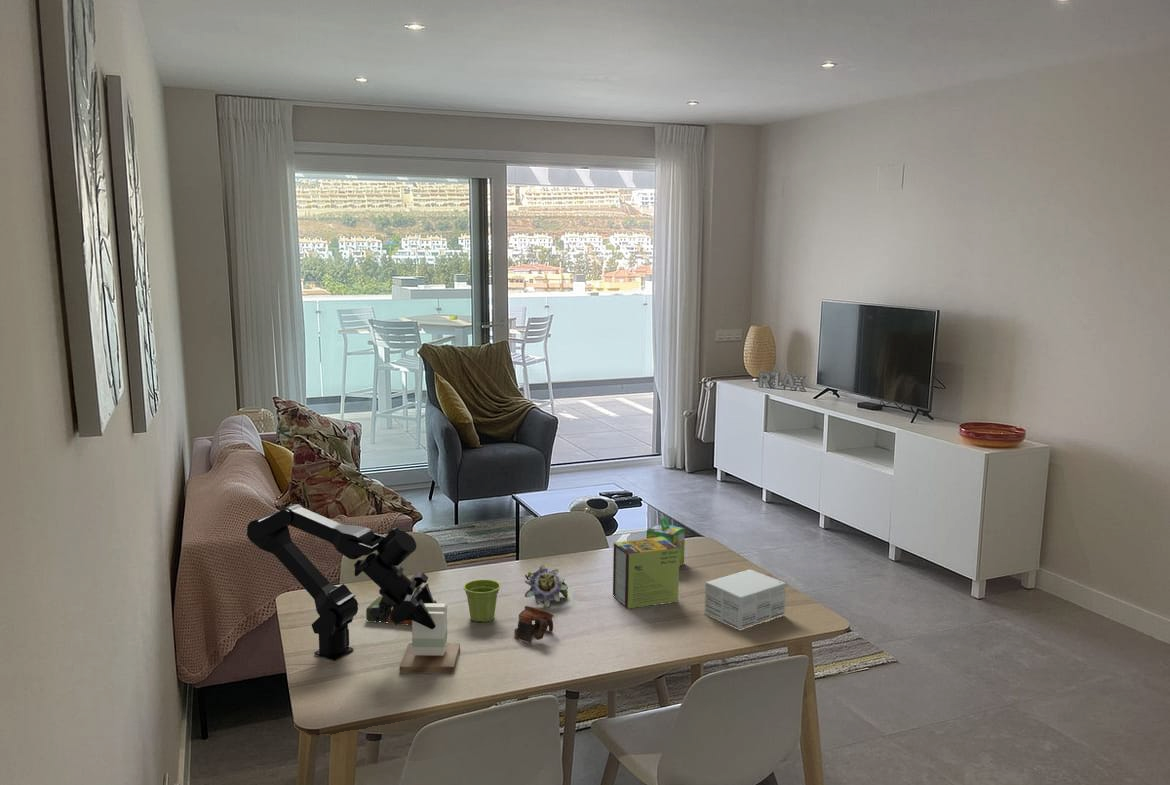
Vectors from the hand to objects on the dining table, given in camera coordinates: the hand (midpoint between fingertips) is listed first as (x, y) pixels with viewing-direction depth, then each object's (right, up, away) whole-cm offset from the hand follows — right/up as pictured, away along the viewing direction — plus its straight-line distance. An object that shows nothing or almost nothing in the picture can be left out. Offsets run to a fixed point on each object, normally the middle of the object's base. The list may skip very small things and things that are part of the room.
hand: (436, 622), depth 197 cm
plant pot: (+7, -6, +26) cm, 28 cm away
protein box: (+50, -4, +40) cm, 65 cm away
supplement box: (+76, -6, +30) cm, 82 cm away
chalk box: (+59, -1, +67) cm, 89 cm away
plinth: (-1, -9, +1) cm, 9 cm away
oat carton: (-2, -6, +1) cm, 7 cm away
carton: (-13, -6, +25) cm, 29 cm away
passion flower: (+23, -4, +38) cm, 44 cm away
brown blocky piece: (+22, -8, +15) cm, 28 cm away
